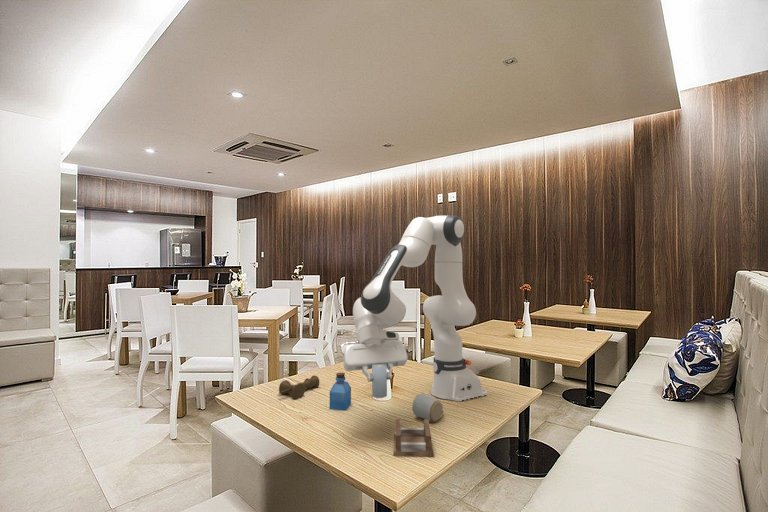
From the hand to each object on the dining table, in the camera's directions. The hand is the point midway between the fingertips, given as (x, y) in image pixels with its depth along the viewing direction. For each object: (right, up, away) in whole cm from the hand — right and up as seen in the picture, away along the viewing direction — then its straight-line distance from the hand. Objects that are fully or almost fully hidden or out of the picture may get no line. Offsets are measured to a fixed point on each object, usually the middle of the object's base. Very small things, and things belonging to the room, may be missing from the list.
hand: (380, 379), depth 114 cm
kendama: (-33, -19, +40) cm, 55 cm away
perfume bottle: (-15, -18, +25) cm, 34 cm away
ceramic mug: (+17, -18, +16) cm, 29 cm away
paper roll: (0, -5, +1) cm, 5 cm away
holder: (+9, -18, -5) cm, 21 cm away
